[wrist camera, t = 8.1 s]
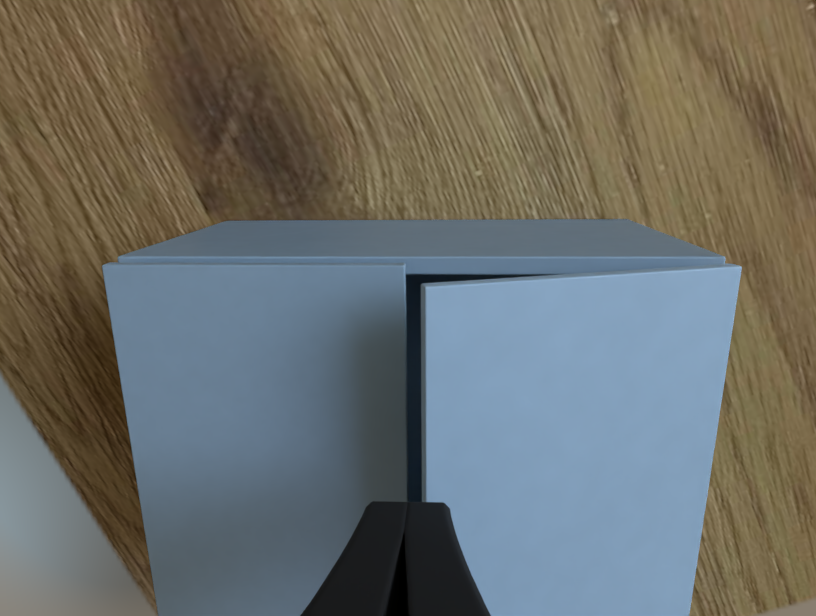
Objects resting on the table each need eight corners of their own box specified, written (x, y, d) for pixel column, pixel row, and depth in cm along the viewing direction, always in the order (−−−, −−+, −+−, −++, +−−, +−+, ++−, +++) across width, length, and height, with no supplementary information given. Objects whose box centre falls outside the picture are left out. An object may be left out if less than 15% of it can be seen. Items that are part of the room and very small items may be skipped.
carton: (628, 219, 18) (744, 263, 11) (600, 517, 20) (677, 702, 14) (226, 220, 18) (97, 262, 12) (254, 507, 21) (164, 676, 14)
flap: (730, 263, 11) (742, 266, 11) (668, 690, 14) (676, 701, 14) (420, 282, 10) (424, 286, 9) (422, 750, 13) (426, 764, 12)
